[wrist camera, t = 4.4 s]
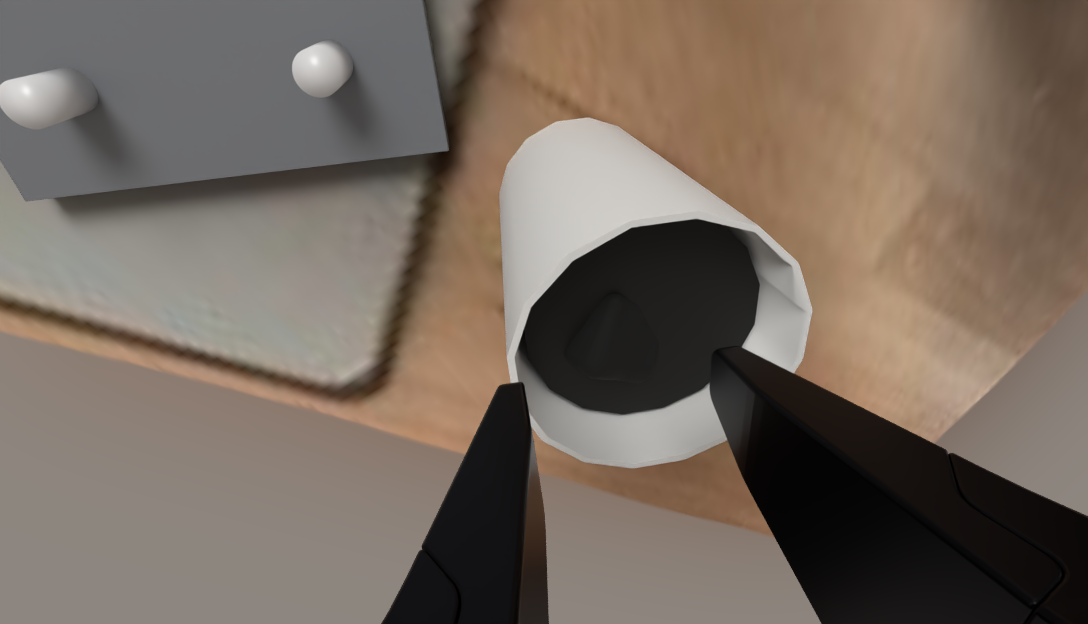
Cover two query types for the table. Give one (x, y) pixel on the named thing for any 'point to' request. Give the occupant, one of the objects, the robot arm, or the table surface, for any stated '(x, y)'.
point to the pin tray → (209, 89)
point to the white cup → (632, 295)
